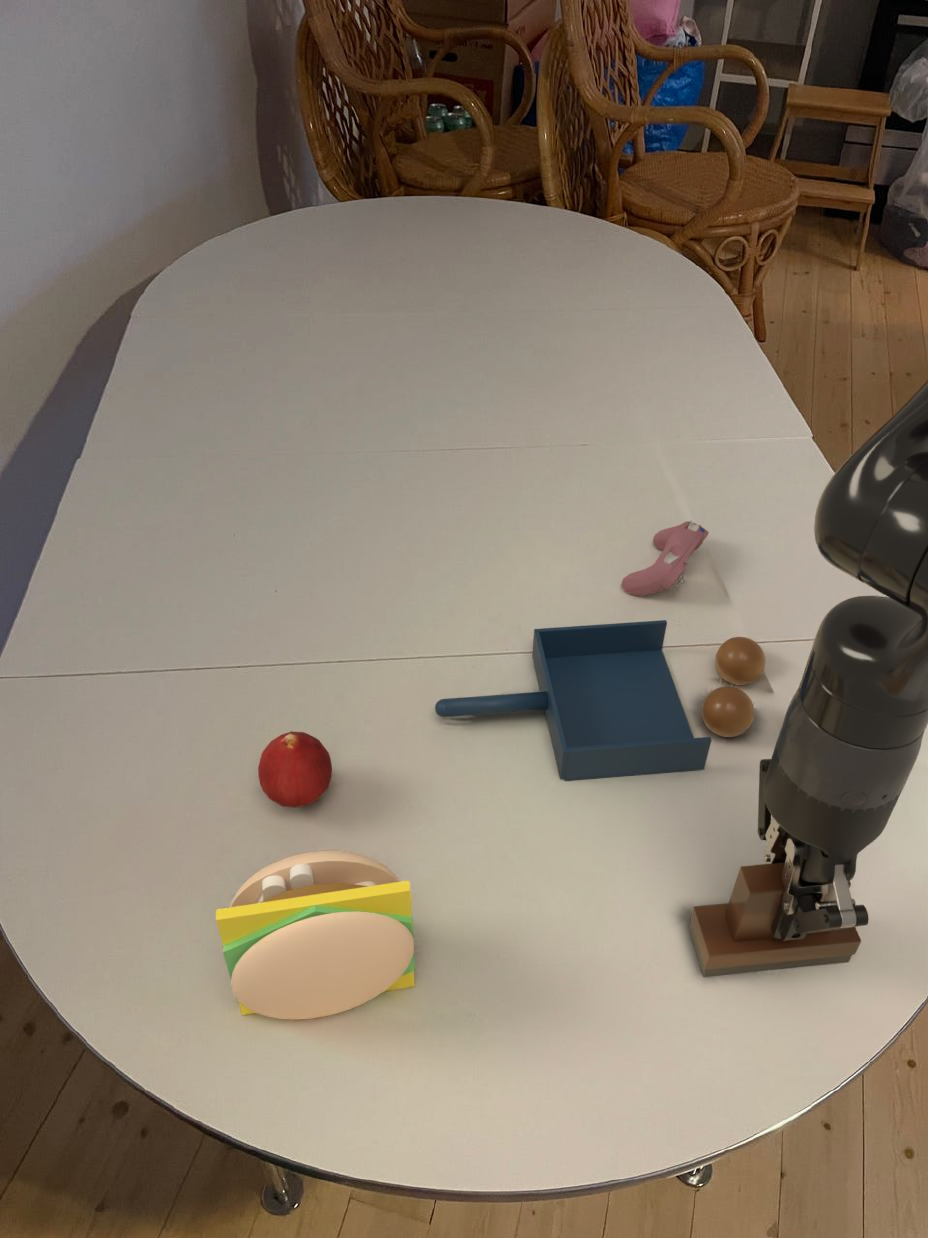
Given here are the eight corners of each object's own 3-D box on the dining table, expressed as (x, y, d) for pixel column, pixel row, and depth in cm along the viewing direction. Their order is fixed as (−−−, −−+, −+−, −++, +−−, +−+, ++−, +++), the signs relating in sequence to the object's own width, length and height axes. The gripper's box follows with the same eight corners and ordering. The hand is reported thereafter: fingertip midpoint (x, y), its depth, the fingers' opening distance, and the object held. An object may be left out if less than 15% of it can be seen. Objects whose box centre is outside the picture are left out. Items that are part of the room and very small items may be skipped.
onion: (273, 768, 88) (262, 703, 83) (341, 774, 88) (334, 709, 82) (256, 824, 84) (243, 759, 78) (327, 831, 83) (319, 766, 78)
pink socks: (650, 617, 105) (689, 580, 99) (614, 588, 105) (652, 549, 100) (685, 563, 111) (724, 526, 106) (652, 536, 111) (689, 497, 106)
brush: (687, 928, 77) (707, 857, 71) (830, 915, 78) (862, 843, 72) (702, 978, 74) (724, 908, 68) (850, 963, 75) (886, 893, 69)
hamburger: (402, 912, 78) (397, 813, 70) (419, 1016, 72) (415, 921, 64) (239, 937, 76) (215, 839, 68) (242, 1046, 70) (216, 953, 62)
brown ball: (751, 659, 98) (760, 625, 95) (766, 693, 95) (776, 658, 92) (705, 662, 98) (713, 628, 95) (719, 696, 95) (728, 662, 92)
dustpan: (660, 649, 99) (666, 619, 97) (704, 770, 88) (711, 740, 86) (428, 665, 97) (427, 635, 95) (443, 791, 86) (443, 761, 84)
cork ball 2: (739, 708, 94) (749, 673, 91) (755, 745, 90) (765, 711, 87) (692, 712, 93) (700, 677, 90) (705, 749, 90) (714, 714, 87)
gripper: (955, 847, 57) (869, 1003, 69) (857, 668, 67) (796, 830, 79) (823, 858, 56) (759, 1014, 68) (744, 676, 67) (700, 839, 78)
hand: (779, 915), depth 73 cm, fingers closed on brush, 2 cm apart
